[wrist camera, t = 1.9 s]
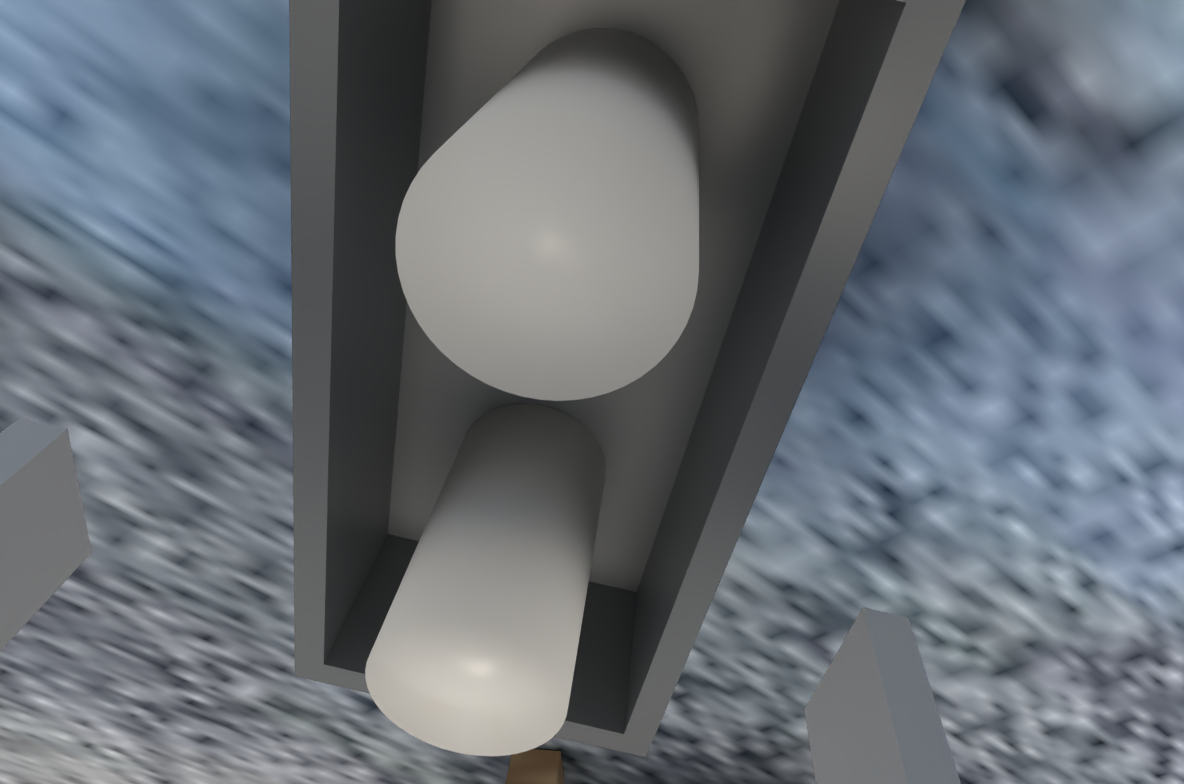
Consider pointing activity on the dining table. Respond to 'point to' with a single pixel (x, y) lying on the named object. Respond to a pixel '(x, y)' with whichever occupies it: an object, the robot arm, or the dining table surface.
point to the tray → (656, 427)
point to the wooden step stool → (536, 767)
